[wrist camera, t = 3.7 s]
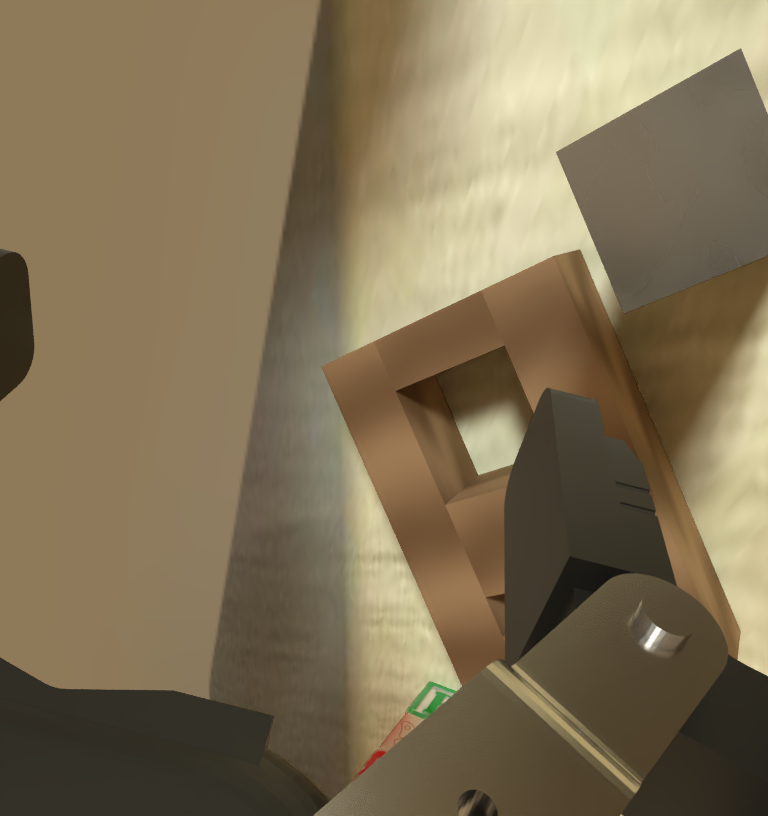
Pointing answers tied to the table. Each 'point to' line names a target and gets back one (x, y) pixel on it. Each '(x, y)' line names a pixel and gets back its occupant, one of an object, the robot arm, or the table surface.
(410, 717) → the stack of blocks
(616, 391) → the plate
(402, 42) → the table surface
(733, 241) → the square bar
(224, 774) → the robot arm
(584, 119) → the table surface
